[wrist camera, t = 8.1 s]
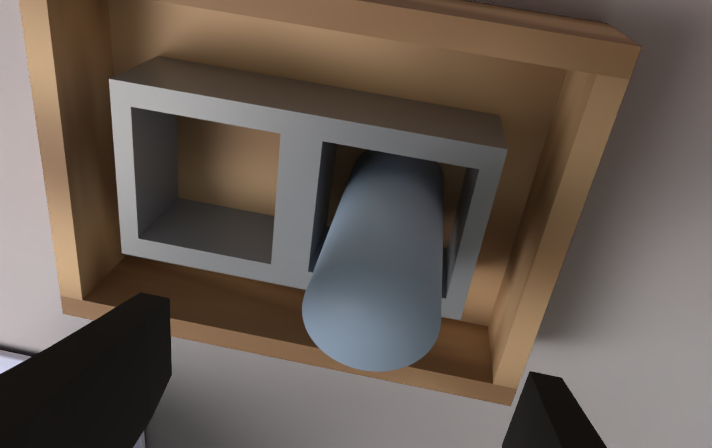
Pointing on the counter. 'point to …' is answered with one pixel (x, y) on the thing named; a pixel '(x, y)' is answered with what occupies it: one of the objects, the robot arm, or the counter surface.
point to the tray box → (261, 155)
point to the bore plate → (284, 168)
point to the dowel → (381, 266)
